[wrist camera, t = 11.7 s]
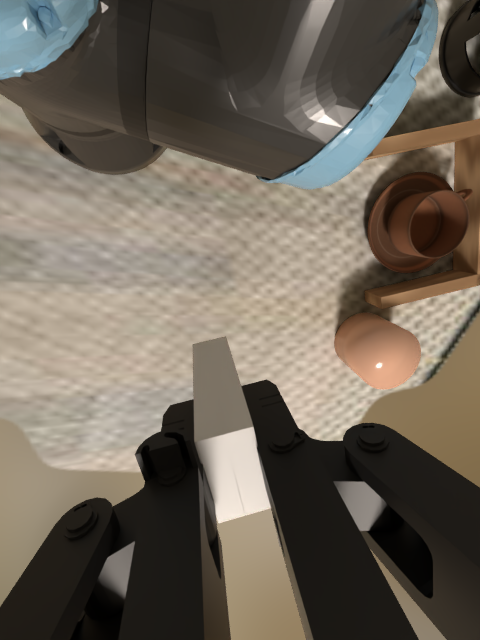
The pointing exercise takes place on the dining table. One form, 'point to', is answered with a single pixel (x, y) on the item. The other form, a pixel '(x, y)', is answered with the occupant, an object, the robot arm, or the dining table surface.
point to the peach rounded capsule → (377, 350)
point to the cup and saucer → (417, 222)
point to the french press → (460, 50)
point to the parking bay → (470, 173)
